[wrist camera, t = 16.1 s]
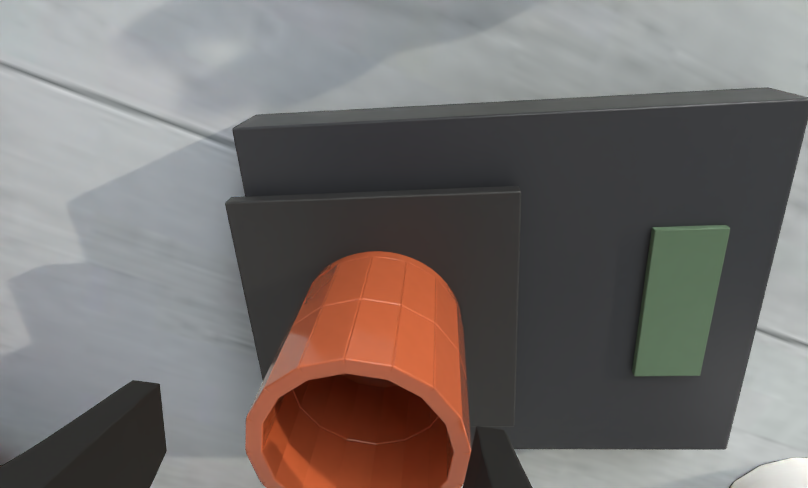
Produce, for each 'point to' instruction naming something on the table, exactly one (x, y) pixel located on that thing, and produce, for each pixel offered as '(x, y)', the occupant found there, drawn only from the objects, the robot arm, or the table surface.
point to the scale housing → (591, 239)
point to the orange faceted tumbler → (366, 383)
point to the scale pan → (403, 234)
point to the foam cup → (777, 475)
